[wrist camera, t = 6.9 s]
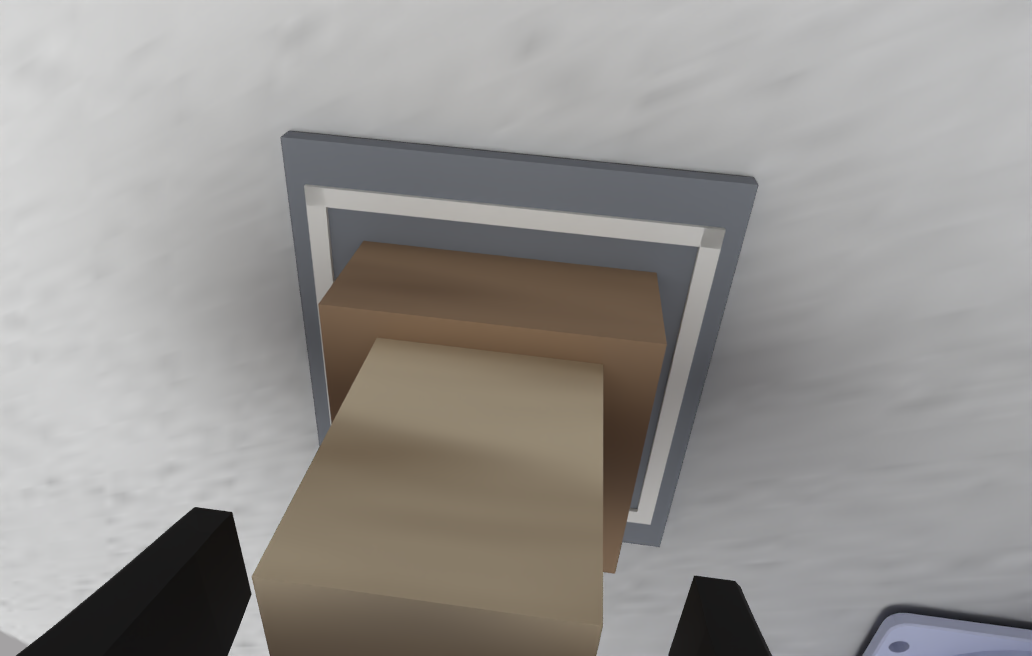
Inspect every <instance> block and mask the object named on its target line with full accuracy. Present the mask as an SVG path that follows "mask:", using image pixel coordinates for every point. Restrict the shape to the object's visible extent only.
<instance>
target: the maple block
mask: <svg viewBox="0 0 1032 656" xmlns="http://www.w3.org/2000/svg"><path fill="white" fill-rule="evenodd" d="M252 580H253V585H254V589H255V593H256V598H257V602H258V606H259V610H260V615H261V619H262V623H263V628H264V632H265V636H266V641H267V645H268V649H269V654H270V656H596V654H597V650H598V645H599V641H600V637H601V632H602V628H603V364H596V363H587V362H579V361H570V360H562V359H553V358H545V357H536V356H528V355H519V354H511V353H502V352H494V351H485V350H477V349H468V348H460V347H451V346H443V345H434V344H426V343H417V342H409V341H400V340H392V339H384V338H377V339H376V340H375V342H374V344H373V346H372V348H371V350H370V352H369V354H368V356H367V358H366V360H365V361H364V363H363V365H362V367H361V369H360V371H359V373H358V375H357V377H356V379H355V381H354V382H353V384H352V386H351V388H350V390H349V392H348V394H347V396H346V398H345V400H344V402H343V403H342V405H341V407H340V409H339V411H338V413H337V415H336V417H335V419H334V421H333V423H332V424H331V426H330V428H329V430H328V432H327V434H326V436H325V438H324V440H323V442H322V443H321V445H320V447H319V449H318V451H317V453H316V455H315V457H314V459H313V461H312V463H311V464H310V466H309V468H308V470H307V472H306V474H305V476H304V478H303V480H302V482H301V484H300V485H299V487H298V489H297V491H296V493H295V495H294V497H293V499H292V501H291V503H290V505H289V506H288V508H287V510H286V512H285V514H284V516H283V518H282V520H281V522H280V524H279V526H278V527H277V529H276V531H275V533H274V535H273V537H272V539H271V541H270V543H269V545H268V547H267V548H266V550H265V552H264V554H263V556H262V558H261V560H260V562H259V564H258V566H257V568H256V569H255V571H254V573H253V575H252Z"/></svg>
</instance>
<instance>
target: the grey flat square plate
mask: <svg viewBox="0 0 1032 656" xmlns="http://www.w3.org/2000/svg"><path fill="white" fill-rule="evenodd" d="M281 145H282V152H283V160H284V168H285V176H286V184H287V192H288V200H289V208H290V216H291V224H292V232H293V240H294V248H295V256H296V263H297V271H298V279H299V287H300V295H301V303H302V311H303V319H304V327H305V335H306V343H307V351H308V359H309V367H310V374H311V382H312V390H313V398H314V406H315V414H316V422H317V430H318V438H319V446H320V445H321V443H322V442H323V440H324V438H325V436H326V434H327V432H328V430H329V428H330V426H331V415H330V406H329V397H328V388H327V379H326V370H325V361H324V352H323V343H322V334H321V325H320V316H319V307H318V304H319V302H320V301H321V300H322V298H323V297H324V295H325V294H326V293H327V291H328V290H329V288H330V287H331V286H332V284H333V283H334V281H335V280H336V279H337V277H338V276H339V274H340V273H341V272H342V270H343V269H344V267H345V266H346V265H347V263H348V262H349V260H350V259H351V258H352V256H353V255H354V254H355V252H356V251H357V249H358V248H359V247H360V245H361V244H362V242H363V241H370V242H379V243H389V244H398V245H407V246H416V247H425V248H435V249H444V250H453V251H462V252H471V253H480V254H490V255H499V256H508V257H517V258H526V259H536V260H545V261H554V262H563V263H572V264H581V265H591V266H600V267H609V268H618V269H627V270H637V271H646V272H655V273H657V279H658V286H659V293H660V300H661V307H662V314H663V321H664V328H665V335H666V342H667V346H666V350H665V355H664V359H663V363H662V368H661V372H660V377H659V381H658V386H657V390H656V394H655V399H654V403H653V408H652V412H651V416H650V421H649V425H648V430H647V434H646V439H645V443H644V447H643V452H642V456H641V461H640V465H639V470H638V474H637V478H636V483H635V487H634V492H633V496H632V501H631V505H630V509H629V514H628V518H627V523H626V527H625V532H624V536H623V540H622V542H625V543H633V544H640V545H648V546H656V547H660V544H661V540H662V536H663V533H664V529H665V525H666V522H667V518H668V514H669V511H670V507H671V503H672V500H673V496H674V492H675V489H676V485H677V481H678V478H679V474H680V470H681V467H682V463H683V459H684V456H685V452H686V448H687V445H688V441H689V437H690V434H691V430H692V426H693V423H694V419H695V415H696V412H697V408H698V404H699V401H700V397H701V393H702V390H703V386H704V382H705V379H706V375H707V371H708V368H709V364H710V361H711V357H712V353H713V350H714V346H715V342H716V339H717V335H718V331H719V328H720V324H721V320H722V317H723V313H724V309H725V306H726V302H727V298H728V295H729V291H730V287H731V284H732V280H733V276H734V273H735V269H736V265H737V262H738V258H739V254H740V251H741V247H742V243H743V240H744V236H745V232H746V229H747V225H748V221H749V218H750V214H751V210H752V207H753V203H754V199H755V196H756V192H757V188H758V183H757V182H756V180H755V178H754V177H744V176H734V175H724V174H714V173H704V172H694V171H684V170H674V169H664V168H654V167H644V166H634V165H624V164H614V163H604V162H594V161H584V160H574V159H564V158H554V157H544V156H534V155H524V154H514V153H504V152H494V151H484V150H474V149H464V148H453V147H443V146H433V145H423V144H413V143H403V142H393V141H383V140H373V139H363V138H353V137H343V136H333V135H323V134H313V133H303V132H293V131H288V132H287V133H285V134H284V135H283V136H281Z"/></svg>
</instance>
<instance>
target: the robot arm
mask: <svg viewBox="0 0 1032 656" xmlns="http://www.w3.org/2000/svg"><path fill="white" fill-rule="evenodd" d="M250 597H251V590H250V586H249V581H248V577H247V573H246V569H245V564H244V560H243V556H242V552H241V547H240V543H239V539H238V535H237V531H236V526H235V522H234V518H233V514H232V512H227V511H220V510H213V509H205V508H198V507H195V508H193V509H192V510H191V511H189V512H188V513H187V514H186V515H184V516H183V517H182V518H181V519H180V520H179V521H177V522H176V523H175V524H174V525H173V526H172V527H170V528H169V529H168V530H167V531H166V532H165V533H163V534H162V535H161V536H160V537H159V538H158V539H156V540H155V541H154V542H153V543H152V544H151V545H150V546H148V547H147V548H146V549H145V550H144V551H143V552H141V553H140V554H139V555H138V556H137V557H136V558H134V559H133V560H132V561H131V562H130V563H129V564H127V565H126V566H125V567H124V568H123V569H122V570H120V571H119V572H118V573H117V574H116V575H115V576H113V577H112V578H111V579H110V580H109V581H108V582H106V583H105V584H104V585H103V586H102V587H100V588H99V589H98V590H97V591H96V592H94V593H93V594H92V595H91V596H90V597H88V598H87V599H86V600H85V601H83V602H82V603H81V604H80V605H79V606H77V607H76V608H75V609H74V610H73V611H71V612H70V613H69V614H68V615H67V616H65V617H64V618H63V619H62V620H61V621H59V622H58V623H57V624H56V625H54V626H53V627H52V628H51V629H49V630H48V631H47V632H46V633H44V634H43V635H42V636H41V637H39V638H38V639H37V640H36V641H34V642H33V643H32V644H30V645H29V646H28V647H26V648H25V649H24V650H23V651H21V652H20V653H19V654H17V655H16V656H228V653H229V651H230V648H231V646H232V643H233V641H234V638H235V636H236V634H237V631H238V629H239V626H240V623H241V621H242V618H243V615H244V613H245V610H246V607H247V605H248V602H249V600H250ZM669 656H772V655H771V653H770V651H769V648H768V646H767V644H766V642H765V640H764V638H763V636H762V634H761V632H760V630H759V627H758V625H757V623H756V621H755V619H754V616H753V614H752V612H751V610H750V608H749V605H748V603H747V601H746V599H745V596H744V594H743V592H742V589H741V587H740V586H739V585H738V584H737V583H736V581H731V580H723V579H716V578H709V577H701V576H694V578H693V581H692V584H691V587H690V590H689V593H688V596H687V599H686V602H685V605H684V608H683V611H682V615H681V618H680V621H679V624H678V627H677V630H676V633H675V636H674V639H673V642H672V645H671V648H670V651H669ZM862 656H1032V630H1029V629H1021V628H1014V627H1006V626H999V625H992V624H984V623H977V622H970V621H962V620H955V619H947V618H940V617H933V616H925V615H918V614H910V613H897V614H892V615H890V616H888V617H887V618H886V619H885V620H884V621H883V622H882V624H881V625H880V627H879V629H878V630H877V632H876V634H875V635H874V637H873V639H872V640H871V642H870V644H869V645H868V647H867V649H866V650H865V652H864V654H863V655H862Z"/></svg>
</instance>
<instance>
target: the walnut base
mask: <svg viewBox="0 0 1032 656" xmlns="http://www.w3.org/2000/svg"><path fill="white" fill-rule="evenodd" d="M318 307H319V316H320V325H321V334H322V343H323V352H324V361H325V370H326V379H327V388H328V397H329V406H330V415H331V424H332V423H333V421H334V419H335V417H336V415H337V413H338V411H339V409H340V407H341V405H342V403H343V402H344V400H345V398H346V396H347V394H348V392H349V390H350V388H351V386H352V384H353V382H354V381H355V379H356V377H357V375H358V373H359V371H360V369H361V367H362V365H363V363H364V361H365V360H366V358H367V356H368V354H369V352H370V350H371V348H372V346H373V344H374V342H375V340H376V339H377V338H384V339H392V340H400V341H409V342H417V343H426V344H434V345H443V346H451V347H460V348H468V349H477V350H485V351H494V352H502V353H511V354H519V355H528V356H536V357H545V358H553V359H562V360H570V361H579V362H587V363H596V364H603V572H607V573H615V571H616V567H617V563H618V558H619V554H620V549H621V545H622V540H623V536H624V532H625V527H626V523H627V518H628V514H629V509H630V505H631V501H632V496H633V492H634V487H635V483H636V478H637V474H638V470H639V465H640V461H641V456H642V452H643V447H644V443H645V439H646V434H647V430H648V425H649V421H650V416H651V412H652V408H653V403H654V399H655V394H656V390H657V386H658V381H659V377H660V372H661V368H662V363H663V359H664V355H665V350H666V346H667V342H666V335H665V328H664V321H663V314H662V307H661V300H660V293H659V286H658V279H657V273H655V272H646V271H637V270H627V269H618V268H609V267H600V266H591V265H581V264H572V263H563V262H554V261H545V260H536V259H526V258H517V257H508V256H499V255H490V254H480V253H471V252H462V251H453V250H444V249H435V248H425V247H416V246H407V245H398V244H389V243H379V242H370V241H363V242H362V244H361V245H360V247H359V248H358V249H357V251H356V252H355V254H354V255H353V256H352V258H351V259H350V260H349V262H348V263H347V265H346V266H345V267H344V269H343V270H342V272H341V273H340V274H339V276H338V277H337V279H336V280H335V281H334V283H333V284H332V286H331V287H330V288H329V290H328V291H327V293H326V294H325V295H324V297H323V298H322V300H321V301H320V302H319V304H318Z"/></svg>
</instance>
